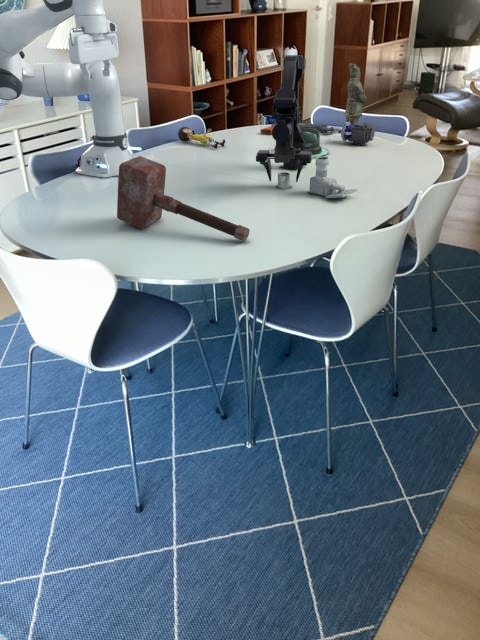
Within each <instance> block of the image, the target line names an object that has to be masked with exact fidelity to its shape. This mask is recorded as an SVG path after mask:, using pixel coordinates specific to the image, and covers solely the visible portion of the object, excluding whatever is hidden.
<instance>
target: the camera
mask: <svg viewBox="0 0 480 640" xmlns="http://www.w3.org/2000/svg"><path fill="white" fill-rule="evenodd" d="M329 165H330V157H329V156H326V155H322V156H317V157H315V175H313V176H311V177H309V191H308V192H309V193H311V194H313V195H318V196H321V197H325V199H338V198H345V197H347V196H349V195H351V194H354V193H356V192H358V191H359V190H358V189H357V188H353V189H346V186H345V185H342V184H338V181H337V179H335V178H330V177H328V167H329Z"/></svg>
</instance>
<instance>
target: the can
mask: <svg viewBox="0 0 480 640" xmlns="http://www.w3.org/2000/svg"><path fill="white" fill-rule="evenodd" d="M290 177H291V176H290V173H289V172H287V171H286V172H281V171H280V172H278V173H277V188H278V189H282V190H284V189H285V190H286V189H289V188H290V184H291V183H290V182H291V181H290Z"/></svg>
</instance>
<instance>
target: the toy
mask: <svg viewBox="0 0 480 640" xmlns="http://www.w3.org/2000/svg"><path fill="white" fill-rule="evenodd" d="M357 124H358V123H357ZM357 124H355V125H354V127H352V124H350V122H346V121H345V122H344V123H343V126H342V128H341V129H339V130H338V134H340V137H341V139H342V141H343V142H346V141H348V142H349V143H352V145H358V146H359V145H360V146H366V144H367V143H369V142H373V140H374V138H375V133H376V129H375V127H374V126H372V123H370V122H363V124H358V125H357Z"/></svg>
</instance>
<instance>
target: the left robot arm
mask: <svg viewBox="0 0 480 640" xmlns="http://www.w3.org/2000/svg"><path fill="white" fill-rule="evenodd" d="M42 1H43V5H41V6H38V7H33V8H24V9H11V10H7V11H5V12H2V13H0V100H2V101H14V100H16V99H18V98H20V97H21V95H22V96H25V97H32V98H66V97H76V96H83V95H88V97H89V103H90V108H91V113H92V114H91V115H92V120H93V126H94V132H95V134H93V135H92V136H90V137H89V141H92V145H91V146H90V147H88V148H87V149H86V150H85V151H84V152H83V153H82V154H81V155H79V158H78V159H77V163H75V167H77V168H76V169H75V174H79V175H85V176H90V177H97V178H111V177H116V176H118V177H119V166H120V164H121V163H123V162H126V161H128V160H131V156H130V152H129V150H135V151H142V147H134V146H129V142H128V135H127V132H126V126H125V119H124V118H125V117H124V110H123V103H122V95H121V88H120V77H119V72H118V70H117V68H116V66H115V65H114V64H113V63H112V60H115V59H119V55H120V49H119V39H118V34H117V32H118V26H117V24H116V23H114V22H113V21H111V20H109V19H108V18H107V15H106V11H105V8H104V0H42ZM73 16H74V23H75V27H71V30H70V31H69V32H68V33H69V34H68V36H69V37H68V56H69V61H70V62H48V63H46V62H45V63H29V62H26V61H25V60H24V58H25V56H26V55H25V53H24V51H23V50H25V49H26V48H28V46H30V45H31V44H32V43H34V42H35V41H36V40H38V39H39V38H41V37H42V36H43V35H45V34H46V33H47V32H48V31H50V30H52V29H53V28H56V27H57V26H58V25H60V24H62V23H63V22H65V21H66V20H68V19H70V18H71V17H73Z"/></svg>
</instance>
